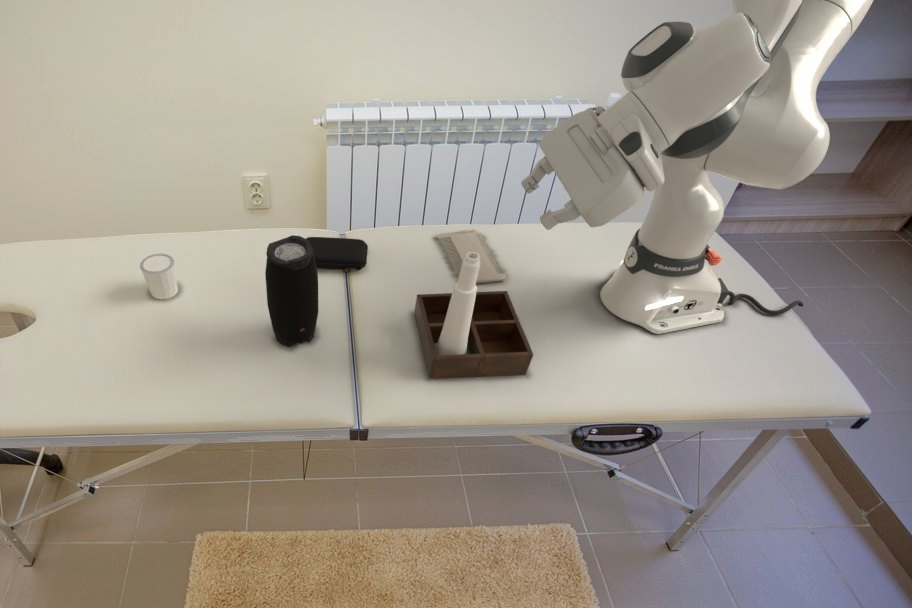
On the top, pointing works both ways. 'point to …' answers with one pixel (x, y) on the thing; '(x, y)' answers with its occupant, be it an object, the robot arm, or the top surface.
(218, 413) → the top surface
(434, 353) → the organiser
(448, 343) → the cosmetic bottle
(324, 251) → the carrying case
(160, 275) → the shot glass
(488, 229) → the top surface
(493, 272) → the grooming comb
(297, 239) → the portable speaker
